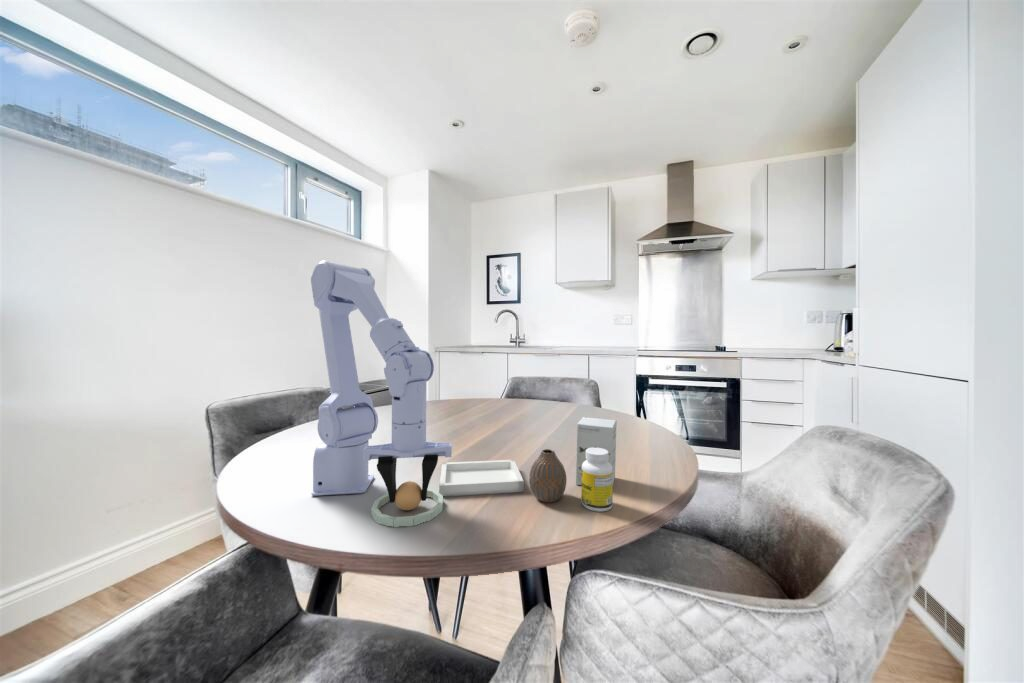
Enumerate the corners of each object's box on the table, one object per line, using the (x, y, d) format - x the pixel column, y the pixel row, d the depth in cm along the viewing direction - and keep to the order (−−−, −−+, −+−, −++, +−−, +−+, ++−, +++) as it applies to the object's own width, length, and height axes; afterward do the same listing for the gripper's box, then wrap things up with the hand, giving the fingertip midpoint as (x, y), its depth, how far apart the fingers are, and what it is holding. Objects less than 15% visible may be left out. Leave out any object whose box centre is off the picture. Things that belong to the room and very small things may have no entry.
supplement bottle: (577, 498, 65) (578, 446, 65) (606, 497, 66) (606, 445, 66) (586, 513, 60) (586, 456, 60) (617, 512, 60) (617, 455, 60)
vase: (565, 490, 69) (565, 446, 69) (567, 507, 62) (567, 458, 62) (529, 488, 69) (530, 444, 69) (528, 505, 62) (528, 456, 62)
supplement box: (574, 485, 71) (575, 423, 71) (581, 472, 78) (582, 415, 78) (612, 491, 68) (613, 427, 68) (616, 477, 75) (617, 419, 75)
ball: (392, 516, 58) (392, 488, 58) (397, 503, 63) (397, 477, 63) (420, 514, 59) (421, 487, 59) (423, 501, 63) (423, 476, 63)
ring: (364, 529, 54) (364, 521, 54) (380, 495, 66) (380, 489, 66) (441, 524, 56) (441, 516, 56) (444, 492, 67) (444, 486, 67)
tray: (439, 496, 65) (439, 485, 65) (442, 472, 77) (442, 462, 77) (523, 491, 68) (523, 481, 68) (513, 468, 80) (513, 459, 80)
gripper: (358, 427, 56) (357, 513, 56) (451, 425, 58) (450, 507, 58) (369, 417, 63) (369, 493, 63) (452, 415, 65) (451, 489, 65)
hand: (408, 499), depth 61 cm, fingers closed on ball, 5 cm apart
